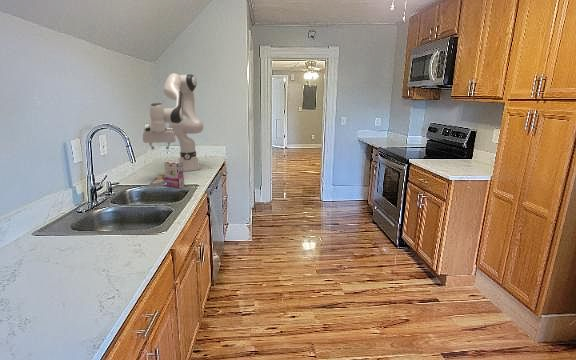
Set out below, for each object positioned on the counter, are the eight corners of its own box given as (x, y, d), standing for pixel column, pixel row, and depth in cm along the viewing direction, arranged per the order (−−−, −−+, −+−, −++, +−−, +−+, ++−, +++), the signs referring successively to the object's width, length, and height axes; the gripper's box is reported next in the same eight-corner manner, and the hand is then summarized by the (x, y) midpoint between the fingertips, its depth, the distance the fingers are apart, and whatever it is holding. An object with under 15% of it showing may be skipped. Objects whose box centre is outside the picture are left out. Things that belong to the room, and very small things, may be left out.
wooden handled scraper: (158, 178, 231) (157, 173, 230) (167, 177, 232) (166, 173, 231) (152, 184, 215) (151, 179, 214) (161, 184, 215) (161, 179, 215)
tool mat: (156, 178, 233) (156, 177, 233) (170, 177, 235) (170, 176, 234) (147, 187, 210) (146, 186, 210) (163, 186, 212) (163, 185, 211)
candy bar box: (185, 187, 210) (183, 161, 206) (179, 189, 206) (177, 163, 202) (172, 185, 215) (170, 160, 211) (166, 186, 211) (163, 161, 207)
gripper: (175, 127, 222) (177, 148, 225) (143, 128, 219) (145, 149, 222) (174, 128, 216) (175, 149, 219) (141, 128, 213) (143, 150, 216)
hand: (160, 149), depth 221 cm, fingers open, 8 cm apart
